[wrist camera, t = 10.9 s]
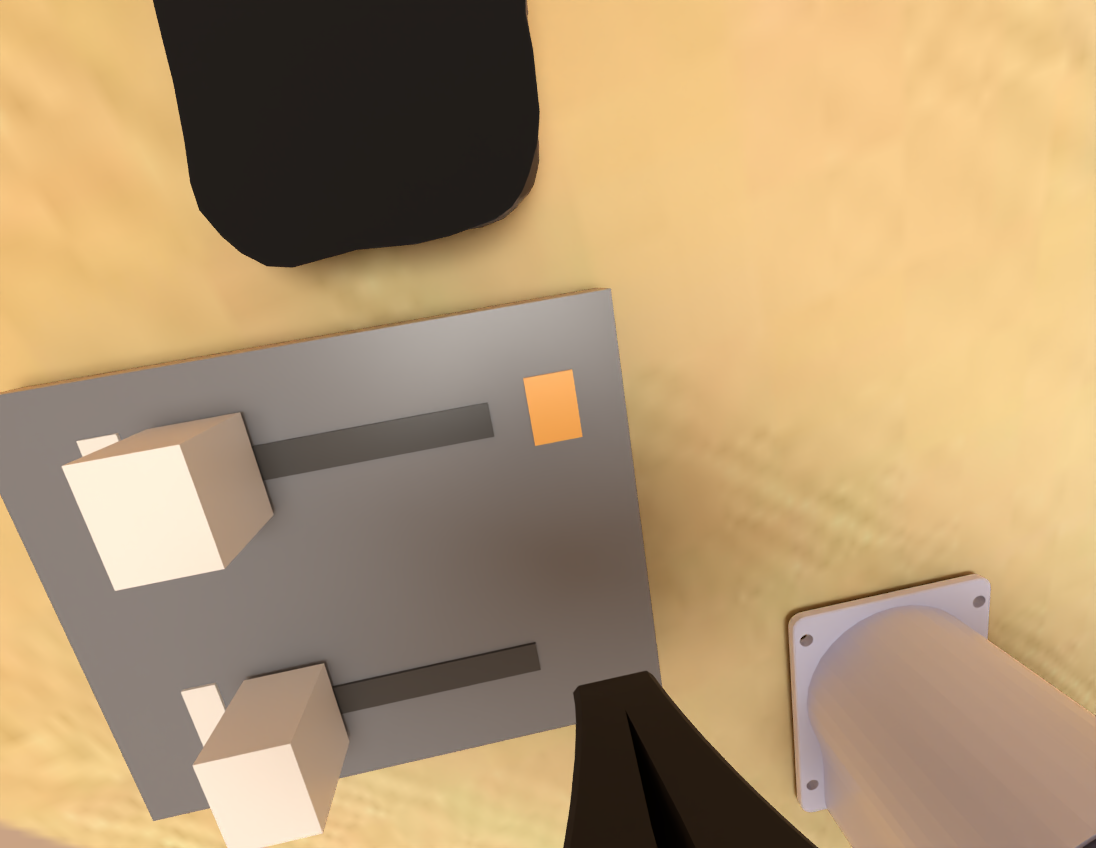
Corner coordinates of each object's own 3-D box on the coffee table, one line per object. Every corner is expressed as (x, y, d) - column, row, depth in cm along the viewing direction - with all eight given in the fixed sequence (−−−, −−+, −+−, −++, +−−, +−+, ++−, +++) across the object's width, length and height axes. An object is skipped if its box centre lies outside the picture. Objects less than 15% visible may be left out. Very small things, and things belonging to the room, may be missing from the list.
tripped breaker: (273, 514, 15) (224, 569, 12) (185, 531, 15) (115, 590, 12) (240, 412, 14) (179, 444, 12) (146, 428, 14) (61, 466, 11)
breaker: (349, 741, 17) (322, 833, 14) (273, 758, 17) (230, 855, 14) (323, 663, 17) (290, 743, 14) (243, 680, 16) (192, 765, 13)
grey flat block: (647, 664, 21) (665, 705, 19) (186, 767, 19) (151, 823, 17) (595, 288, 17) (611, 288, 15) (21, 387, 16) (-47, 403, 14)
